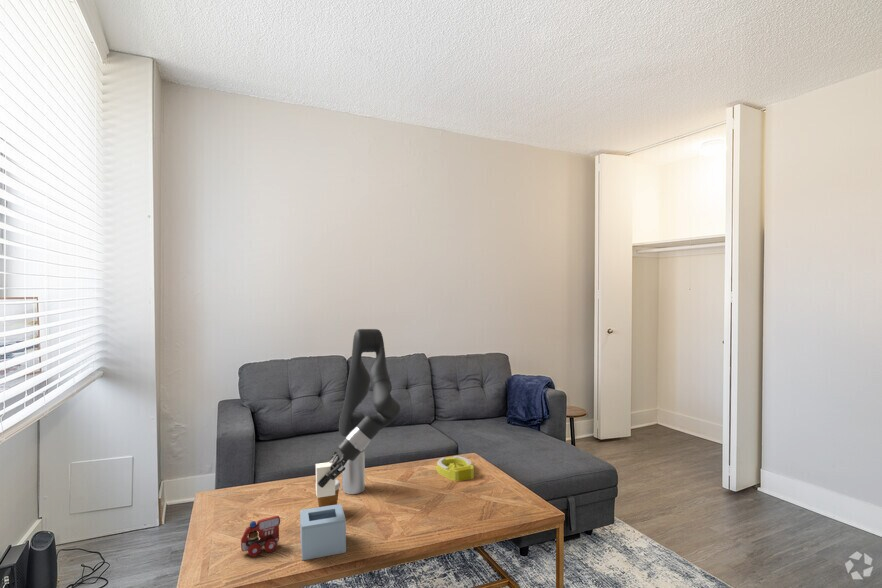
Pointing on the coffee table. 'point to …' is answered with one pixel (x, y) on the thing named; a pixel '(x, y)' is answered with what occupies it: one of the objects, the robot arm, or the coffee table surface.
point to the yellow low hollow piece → (455, 468)
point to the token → (330, 486)
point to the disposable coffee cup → (330, 497)
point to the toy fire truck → (261, 536)
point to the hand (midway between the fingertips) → (319, 482)
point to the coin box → (322, 531)
